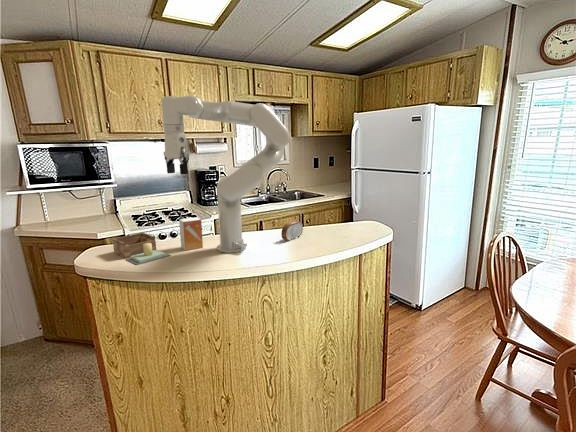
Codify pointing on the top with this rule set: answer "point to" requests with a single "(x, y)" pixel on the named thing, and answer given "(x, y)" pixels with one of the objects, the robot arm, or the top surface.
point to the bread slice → (292, 230)
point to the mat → (145, 261)
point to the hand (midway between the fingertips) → (177, 173)
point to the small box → (191, 233)
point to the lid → (148, 254)
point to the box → (132, 244)
